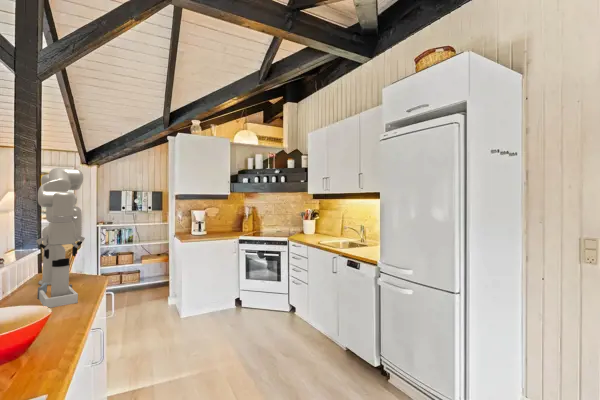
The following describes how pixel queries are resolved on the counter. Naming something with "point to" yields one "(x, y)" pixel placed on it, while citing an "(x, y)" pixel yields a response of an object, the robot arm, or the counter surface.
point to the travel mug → (60, 277)
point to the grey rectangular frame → (59, 298)
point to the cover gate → (43, 287)
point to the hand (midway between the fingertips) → (60, 257)
